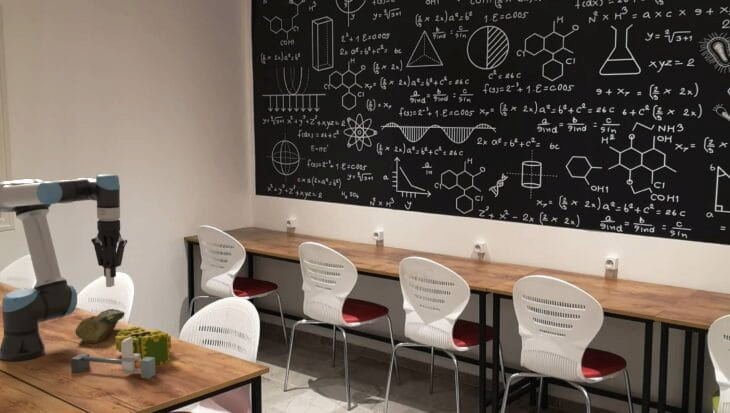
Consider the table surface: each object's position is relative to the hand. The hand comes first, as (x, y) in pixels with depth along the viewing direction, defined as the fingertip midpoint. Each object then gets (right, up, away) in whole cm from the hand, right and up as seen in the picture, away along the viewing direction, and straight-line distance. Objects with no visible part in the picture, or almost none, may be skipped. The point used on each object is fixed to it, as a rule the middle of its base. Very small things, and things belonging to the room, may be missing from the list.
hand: (110, 286), depth 259 cm
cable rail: (+4, -29, -7) cm, 30 cm away
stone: (-16, -24, +36) cm, 46 cm away
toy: (+7, -27, +14) cm, 31 cm away
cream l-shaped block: (+10, -28, -9) cm, 31 cm away
